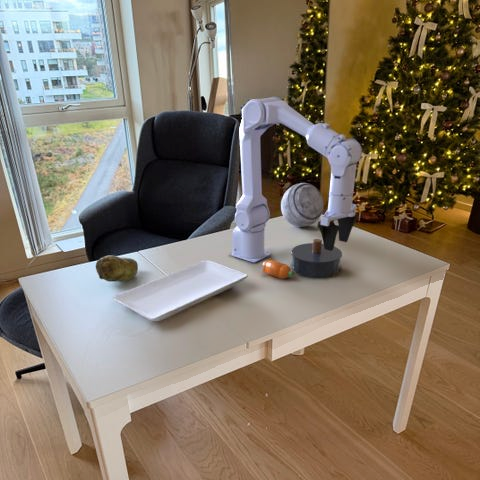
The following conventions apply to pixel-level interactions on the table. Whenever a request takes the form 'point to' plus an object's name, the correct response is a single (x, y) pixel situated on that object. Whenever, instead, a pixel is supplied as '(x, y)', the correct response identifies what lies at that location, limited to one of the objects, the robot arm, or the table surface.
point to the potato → (116, 268)
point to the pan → (315, 268)
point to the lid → (316, 253)
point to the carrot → (277, 269)
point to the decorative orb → (302, 205)
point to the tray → (180, 290)
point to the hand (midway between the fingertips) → (335, 245)
